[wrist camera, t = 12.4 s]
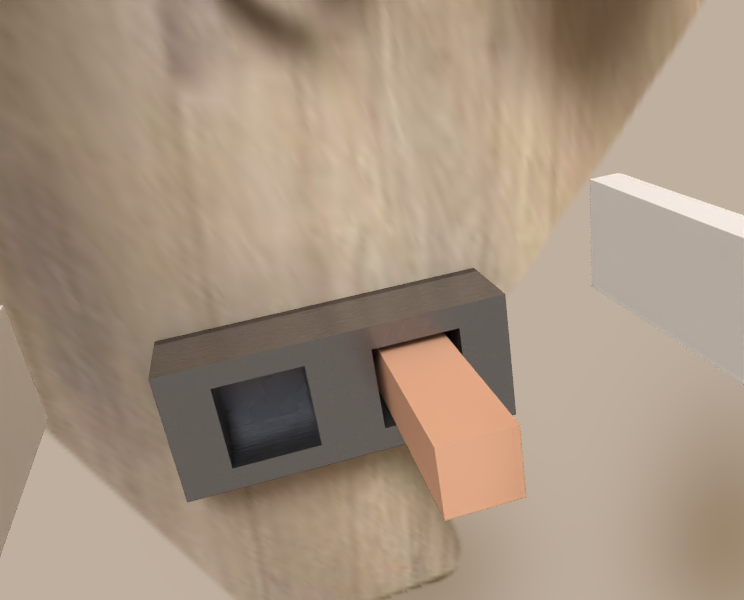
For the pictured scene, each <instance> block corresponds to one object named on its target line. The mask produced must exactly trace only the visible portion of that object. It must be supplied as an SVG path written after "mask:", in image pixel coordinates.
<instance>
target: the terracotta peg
mask: <svg viewBox="0 0 744 600" xmlns="http://www.w3.org/2000/svg"><path fill="white" fill-rule="evenodd" d="M372 356H373V362H374V367H375V373H376V379H377V384H378V389H379V391H380V393H381V395H382V397H383V399H384V401H385V403H386V405H387V407H388V409H389V411H390V413H391V415H392V417H393V419H394V421H395V423H396V425H397V427H398V429H399V431H400V433H401V435H402V437H403V439H404V441H405V443H406V445H407V447H408V449H409V451H410V453H411V455H412V457H413V459H414V461H415V463H416V465H417V466H418V468H419V470H420V472H421V474H422V476H423V478H424V480H425V482H426V484H427V486H428V488H429V490H430V492H431V494H432V496H433V498H434V500H435V502H436V504H437V506H438V508H439V510H440V512H441V514H442V516H443V518H444V520H445V521H446V520H449V519H453V518H456V517H460V516H463V515H466V514H470V513H473V512H477V511H480V510H484V509H488V508H491V507H494V506H498V505H501V504H505V503H508V502H512V501H515V500H519V499H522V498H526V488H525V478H524V465H523V454H522V443H521V431H520V425H519V423H518V422H517V420H516V419H515V418H514V417H513V416H512V414H511V413H510V412H509V411H508V410H507V408H506V407H505V406H504V405H503V404H502V402H501V401H500V400H499V399H498V398H497V396H496V395H495V394H494V393H493V392H492V390H491V389H490V388H489V387H488V386H487V384H486V383H485V382H484V381H483V380H482V378H481V377H480V376H479V375H478V373H477V372H476V371H475V370H474V369H473V367H472V366H471V365H470V364H469V363H468V361H467V360H466V359H465V358H464V357H463V355H462V354H461V353H460V352H459V351H458V349H457V348H456V347H455V346H454V345H453V343H452V342H451V341H450V340H449V339H448V337H447V336H446V335H445V334H444V333H443V332H441V333H437V334H433V335H429V336H425V337H421V338H417V339H413V340H409V341H405V342H401V343H396V344H392V345H388V346H384V347H380V348H376V349H372Z"/></svg>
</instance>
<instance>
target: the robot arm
mask: <svg viewBox="0 0 744 600" xmlns="http://www.w3.org/2000/svg"><path fill="white" fill-rule="evenodd" d="M590 214H591V267H592V268H591V269H592V287H593V288H595V289H596V290H598V291H599V292H601V293H603V294H604V295H606V296H607V297H609V298H611V299H612V300H613V301H615V302H617V303H618V304H620V305H621V306H623V307H624V308H626V309H627V310H629V311H631V312H632V313H634V314H635V315H637V316H638V317H640V318H641V319H643V320H644V321H646V322H648V323H649V324H651V325H652V326H654V327H655V328H657V329H658V330H660V331H661V332H663V333H665V334H666V335H668V336H669V337H671V338H672V339H674V340H675V341H677V342H678V343H680V344H682V345H683V346H685V347H686V348H688V349H689V350H691V351H692V352H694V353H696V354H697V355H699V356H700V357H702V358H703V359H705V360H706V361H708V362H709V363H711V364H713V365H714V366H716V367H717V368H719V369H720V370H722V371H723V372H725V373H727V374H728V375H730V376H731V377H733V378H734V379H736V380H737V381H739V382H740V383H742V384H744V215H741V214H737V213H735V212H732V211H729V210H726V209H723V208H720V207H717V206H714V205H711V204H708V203H706V202H703V201H700V200H697V199H694V198H691V197H688V196H685V195H682V194H679V193H676V192H673V191H671V190H668V189H665V188H662V187H659V186H656V185H653V184H650V183H647V182H644V181H641V180H638V179H636V178H633V177H630V176H627V175H624V174H621V173H617V174H612V175H607V176H603V177H598V178H593V179H590ZM47 421H48V418H47V415H46V413H45V410H44V408H43V405H42V403H41V400H40V397H39V395H38V392H37V390H36V387H35V385H34V382H33V379H32V377H31V374H30V372H29V369H28V367H27V364H26V362H25V359H24V356H23V354H22V351H21V349H20V346H19V344H18V341H17V339H16V336H15V333H14V331H13V328H12V326H11V323H10V321H9V318H8V316H7V313H6V310H5V308H4V305H3V306H0V555H1V553H2V550H3V547H4V544H5V541H6V538H7V535H8V532H9V530H10V527H11V524H12V521H13V518H14V515H15V512H16V510H17V506H18V504H19V501H20V498H21V495H22V492H23V489H24V487H25V483H26V481H27V478H28V475H29V472H30V469H31V466H32V463H33V461H34V458H35V455H36V452H37V449H38V446H39V444H40V440H41V438H42V435H43V432H44V429H45V426H46V423H47Z"/></svg>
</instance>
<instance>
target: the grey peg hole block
mask: <svg viewBox="0 0 744 600" xmlns="http://www.w3.org/2000/svg"><path fill="white" fill-rule="evenodd" d="M441 332H443V333H444V334H445V335H446V336H447V337H448V339H449V340H450V341H451V342H452V343H453V345H454V346H455V347H456V348H457V349H458V351H459V352H460V353H461V354H462V355H463V357H464V358H465V359H466V360H467V361H468V363H469V364H470V365H471V366H472V367H473V369H474V370H475V371H476V372H477V373H478V375H479V376H480V377H481V378H482V380H483V381H484V382H485V383H486V384H487V386H488V387H489V388H490V389H491V390H492V392H493V393H494V394H495V395H496V396H497V398H498V399H499V400H500V401H501V402H502V404H503V405H504V406H505V407H506V408H507V410H508V411H509V412H510V413H511V414H512V415H515V414H516V409H515V398H514V387H513V376H512V365H511V355H510V344H509V333H508V321H507V310H506V299H505V294H504V293H503V292H502V291H501V290H500V289H498V288H497V287H496V286H495V285H494V284H492V283H491V282H490V281H489V280H488V279H486V278H485V277H484V276H483V275H482V274H480V273H479V272H478V271H477V270H475V269H474V268H472V269H467V270H463V271H459V272H454V273H450V274H446V275H441V276H437V277H433V278H429V279H424V280H420V281H416V282H411V283H407V284H403V285H398V286H394V287H390V288H385V289H381V290H377V291H372V292H368V293H364V294H359V295H355V296H351V297H346V298H342V299H338V300H333V301H329V302H325V303H321V304H316V305H312V306H308V307H303V308H299V309H295V310H290V311H286V312H282V313H277V314H273V315H269V316H264V317H260V318H256V319H251V320H247V321H243V322H238V323H234V324H230V325H225V326H221V327H217V328H213V329H208V330H204V331H200V332H195V333H191V334H187V335H182V336H178V337H174V338H169V339H165V340H161V341H156V342H155V343H154V349H153V355H152V361H151V367H150V374H149V382H150V386H151V389H152V392H153V395H154V398H155V401H156V405H157V408H158V411H159V414H160V417H161V420H162V424H163V427H164V430H165V433H166V436H167V439H168V443H169V446H170V449H171V452H172V455H173V458H174V462H175V465H176V468H177V471H178V474H179V477H180V481H181V484H182V487H183V490H184V493H185V496H186V499H187V502H190V501H194V500H198V499H202V498H205V497H209V496H213V495H217V494H220V493H224V492H228V491H231V490H235V489H239V488H243V487H246V486H250V485H254V484H258V483H261V482H265V481H269V480H273V479H276V478H280V477H284V476H287V475H291V474H295V473H299V472H302V471H306V470H310V469H314V468H317V467H321V466H325V465H329V464H332V463H336V462H340V461H343V460H347V459H351V458H355V457H358V456H362V455H366V454H370V453H373V452H377V451H381V450H385V449H388V448H392V447H396V446H400V445H403V444H406V443H405V441H404V439H403V437H402V435H401V433H400V431H399V429H398V427H397V425H396V423H395V421H394V419H393V417H392V415H391V413H390V411H389V409H388V407H387V405H386V403H385V401H384V399H383V397H382V395H381V393H380V391H379V389H378V384H377V379H376V373H375V367H374V362H373V356H372V349H376V348H380V347H384V346H388V345H392V344H396V343H401V342H405V341H409V340H413V339H417V338H421V337H425V336H429V335H433V334H437V333H441Z"/></svg>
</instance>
